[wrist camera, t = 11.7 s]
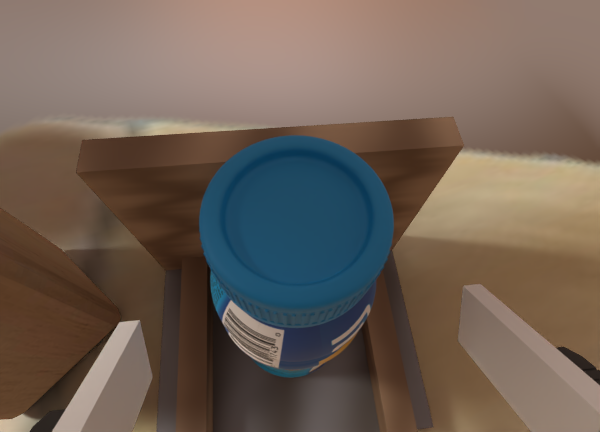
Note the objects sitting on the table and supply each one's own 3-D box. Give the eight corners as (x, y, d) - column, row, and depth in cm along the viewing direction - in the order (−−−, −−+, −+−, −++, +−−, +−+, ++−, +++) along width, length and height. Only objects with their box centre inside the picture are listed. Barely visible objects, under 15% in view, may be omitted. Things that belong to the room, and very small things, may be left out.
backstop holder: (158, 461, 26) (5, 531, 12) (169, 252, 33) (82, 140, 19) (429, 426, 28) (580, 451, 14) (385, 233, 35) (453, 116, 21)
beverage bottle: (227, 291, 31) (149, 142, 13) (321, 261, 33) (364, 92, 15) (254, 396, 28) (196, 386, 10) (358, 358, 29) (472, 289, 11)
